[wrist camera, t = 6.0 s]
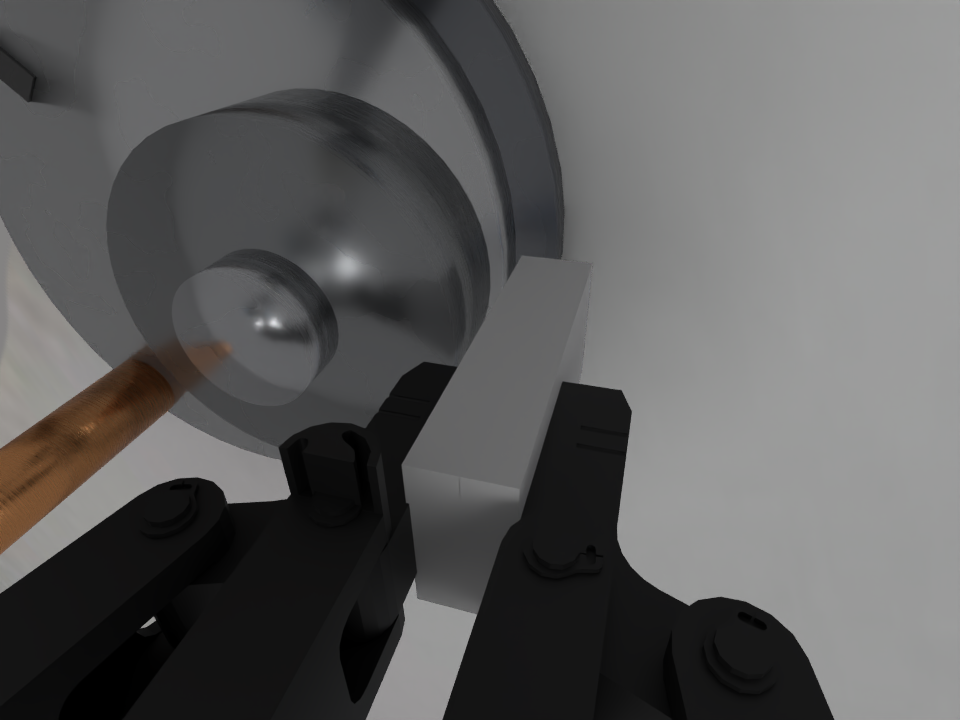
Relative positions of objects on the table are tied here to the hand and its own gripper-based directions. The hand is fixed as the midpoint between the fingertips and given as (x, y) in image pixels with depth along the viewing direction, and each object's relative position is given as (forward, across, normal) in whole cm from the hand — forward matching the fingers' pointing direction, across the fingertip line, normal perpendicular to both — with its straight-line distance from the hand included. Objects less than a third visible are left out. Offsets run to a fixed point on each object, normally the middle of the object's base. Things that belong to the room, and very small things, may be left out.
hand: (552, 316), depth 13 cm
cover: (+1, -6, 0) cm, 6 cm away
